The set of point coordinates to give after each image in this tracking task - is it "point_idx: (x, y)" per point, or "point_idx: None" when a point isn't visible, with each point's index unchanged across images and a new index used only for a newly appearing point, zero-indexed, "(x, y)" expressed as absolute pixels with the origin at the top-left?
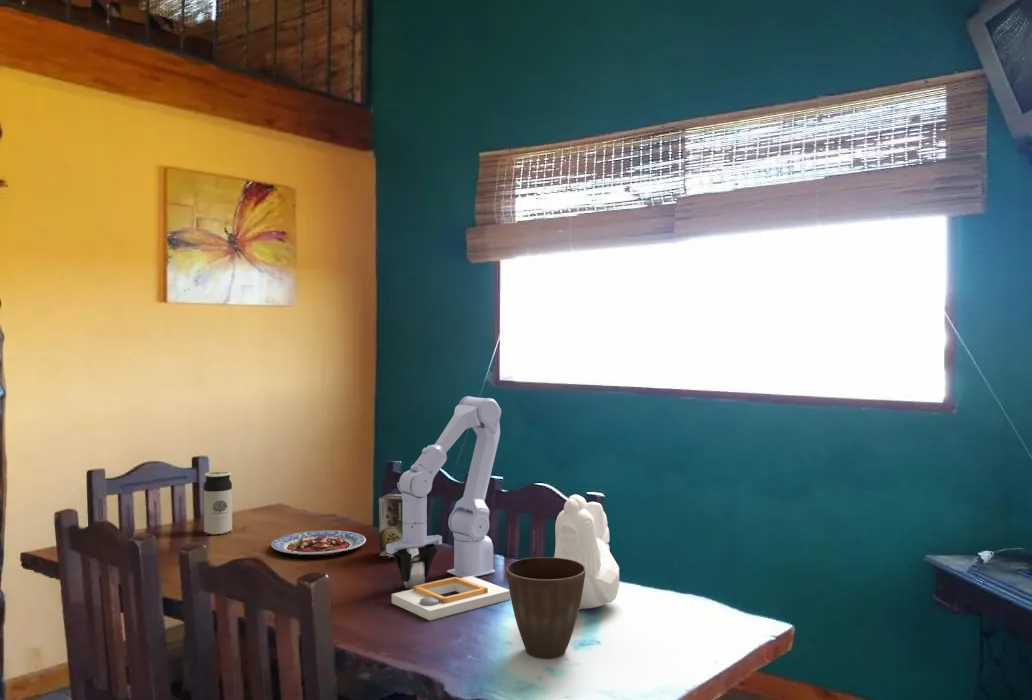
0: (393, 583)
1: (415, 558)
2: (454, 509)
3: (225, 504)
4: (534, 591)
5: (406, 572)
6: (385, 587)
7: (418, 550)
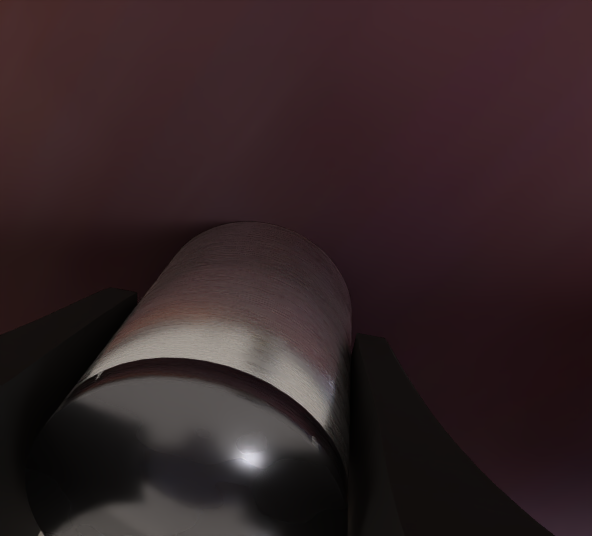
0: (151, 87)
1: (260, 471)
2: None
3: None
4: None
5: None
6: (13, 134)
7: (399, 532)
